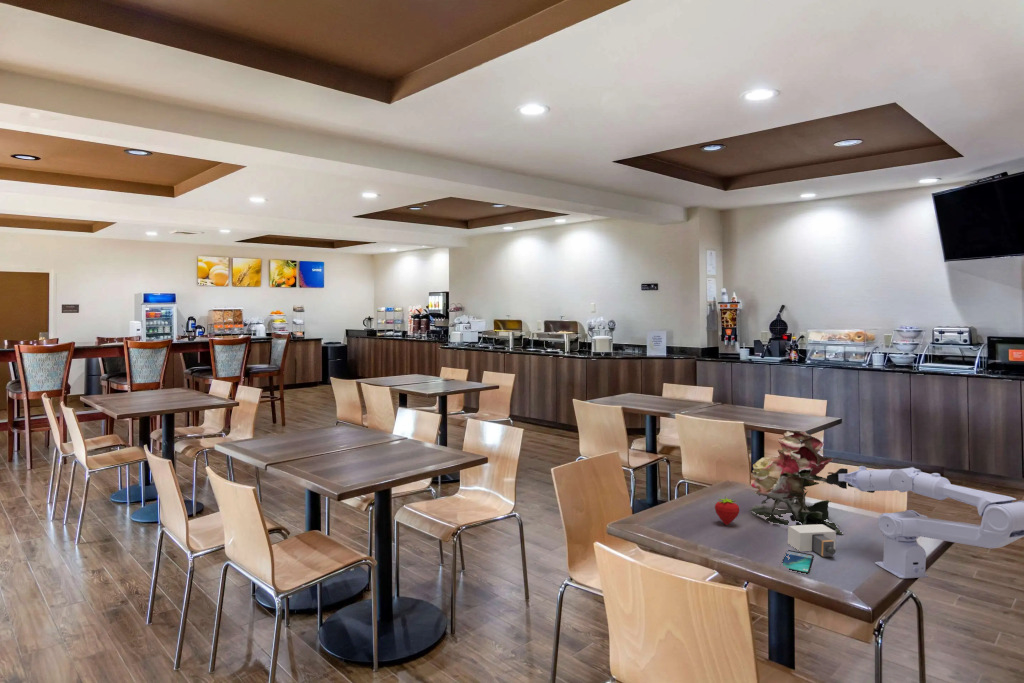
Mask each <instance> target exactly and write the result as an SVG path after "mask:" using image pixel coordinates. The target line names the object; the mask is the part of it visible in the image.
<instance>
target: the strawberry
mask: <svg viewBox="0 0 1024 683" xmlns="http://www.w3.org/2000/svg"><path fill="white" fill-rule="evenodd" d="M718 500H720V501H718V502H716V503H715V504H714V510H715V513H716V515H717V516H718V518H719V519H720V520H721V521H722V523H723V524H724V525H726V526H728V525H730V524H731V523H732V522H733V521H735V519H736V518H737V517H738V516H739V513H740V506H739V505H738V504H737V503H736V502H737V501H736V500H733V499H730V498H729V499H728V497H727V496H725V497H724V498H718Z"/></svg>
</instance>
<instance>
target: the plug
mask: <svg viewBox="0 0 1024 683" xmlns="http://www.w3.org/2000/svg"><path fill="white" fill-rule="evenodd" d="M812 551H814V552H815V553H817V554H819V555H820V556H821V557H824V558H825V557H826V558H827V557H834V554H835V553H836V548H835V549H834V541H833V540H830V539H829V538H827V537H825V536H823V535H822V534H815V535H812Z"/></svg>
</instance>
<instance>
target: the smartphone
mask: <svg viewBox="0 0 1024 683" xmlns="http://www.w3.org/2000/svg"><path fill="white" fill-rule="evenodd" d="M787 550H788V551H787ZM787 550H786V551H787V552H789V553H790V555H789V554H787V553H786V552H785V554H786V556H788V555H789V557H790V559H789V560H788V558H787V557H786V556H785V555H784V556H785V557H784V556H783V558H784V559H782V561H783V562H781V563H783V566H786V568H789V570H792V571H797V572H801V573H806V574H808V573H809V574H810V571H811V569H810V568H812V564H813V561H814V559H815V558H814V557H815V555H814V554H812V553H808V552H799V551H798V550H792V549H787ZM813 558H814V559H813Z"/></svg>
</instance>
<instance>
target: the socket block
mask: <svg viewBox="0 0 1024 683" xmlns="http://www.w3.org/2000/svg"><path fill="white" fill-rule="evenodd" d="M834 530H835V529H833V528H831V527H830V526H828V525H825V524H824V523H819V524H818V523H816V524H807V525H792V526H788V530H787V545H789V544H790V545H791V546H790V545H789V546H790V547H792V546H793V547H794V548H793V547H792V548H793V549H795V548H796V549H797V550H796V549H795V550H796V551H798V550H799V551H809V552H812V551H813V550H812V535H815V534H822V535H823V536H825V537H827V538H829V539H830V540H833V541H834V549H835V550H836V544H837V543H836V541H837V540H836V539H837V538H836V537H837V533H836V531H834ZM799 551H798V552H799Z"/></svg>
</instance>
